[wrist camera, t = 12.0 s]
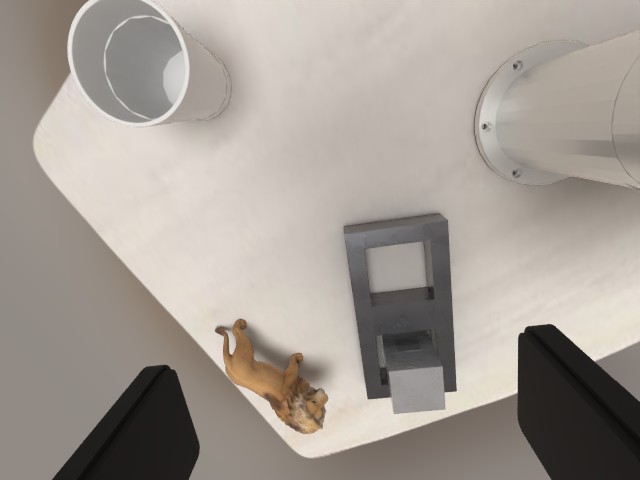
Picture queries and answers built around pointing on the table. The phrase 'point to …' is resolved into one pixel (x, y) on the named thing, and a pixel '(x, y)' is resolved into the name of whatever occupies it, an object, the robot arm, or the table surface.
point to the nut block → (413, 372)
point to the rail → (403, 295)
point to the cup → (143, 65)
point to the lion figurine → (275, 384)
